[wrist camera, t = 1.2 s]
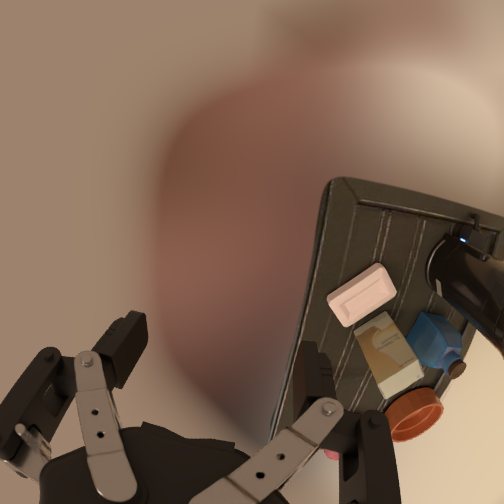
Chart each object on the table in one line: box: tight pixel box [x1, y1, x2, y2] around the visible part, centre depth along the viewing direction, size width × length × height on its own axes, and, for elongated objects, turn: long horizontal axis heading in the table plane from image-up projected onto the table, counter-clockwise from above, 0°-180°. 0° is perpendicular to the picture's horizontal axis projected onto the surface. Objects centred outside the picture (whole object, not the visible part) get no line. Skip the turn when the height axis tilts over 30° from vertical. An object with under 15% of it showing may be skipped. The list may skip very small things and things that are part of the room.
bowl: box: [384, 388, 444, 442], centre depth 44 cm, size 13×13×6 cm
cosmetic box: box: [353, 311, 424, 399], centre depth 34 cm, size 6×4×12 cm
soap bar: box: [327, 263, 397, 327], centre depth 36 cm, size 5×9×2 cm, turn 127°
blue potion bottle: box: [406, 311, 466, 379], centre depth 34 cm, size 6×6×12 cm
